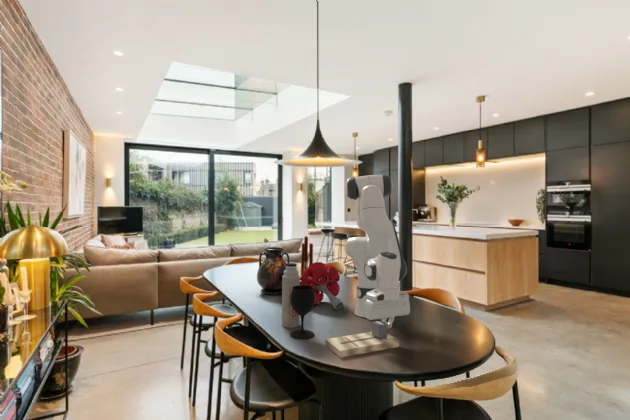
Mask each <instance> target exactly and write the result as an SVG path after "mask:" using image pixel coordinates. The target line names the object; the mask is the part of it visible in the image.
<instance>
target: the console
mask: <svg viewBox="0 0 630 420" xmlns="http://www.w3.org/2000/svg"><path fill="white" fill-rule="evenodd" d="M324 342H325V343H324V344H325V347H326V348H327V349H329V350H330V351H331V352H333V354H335V355H336V356H337V357H338V358H341V359H342V358H346V357H352V356H357V355H362V354H367V353H373V352H378V351H385V350H388V349H395V348H398V347H400V339H398V338H396V337H394V336H392V335H391V334H389V333H388V337H386V338H380V339H379V338H377V337H375V336H374V335H372V331H367V332H362V333H356V334H355V333H354V334H350V335H343V336H336V337H331V338H325V339H324Z"/></svg>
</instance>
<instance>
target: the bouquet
mask: <svg viewBox="0 0 630 420" xmlns="http://www.w3.org/2000/svg"><path fill="white" fill-rule="evenodd" d="M340 279H341V277H340V273H339V271H338V270H337V269H336V268H335V266H332V265H330V264H329V263H326V264H325V263H323V262H321V261H319V262H317V261H316V262H312V263H309V265H308V266H307V267H306V268H305V269H304V270H303V271H302V274H301V276H300V285H307V286H312V287H313V289H314V294H315V303H314V305H315V306H318V305H319V304H320V303H321V302H322V301H323V300H324V296H325V295H326V297H327V299H328V300H329V302H330V304H331V306H332V308H333V309H334V310H336V311H337V310H340V309H341V308H342V307H343V301H342V300H340V298H338V295H339V293H340V290H341V289H340V288H341V286H340V285H339V281H340ZM324 294H325V295H324Z"/></svg>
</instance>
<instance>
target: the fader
mask: <svg viewBox="0 0 630 420" xmlns="http://www.w3.org/2000/svg"><path fill="white" fill-rule="evenodd" d="M388 329H389V328H388V324H386V323H384V322H382V320H378V321H377V320H374V321H372V322H371V332H372V335H374V336H375V337H377V338H379V339H380V338H386V337H388V334H389V332H388Z"/></svg>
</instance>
